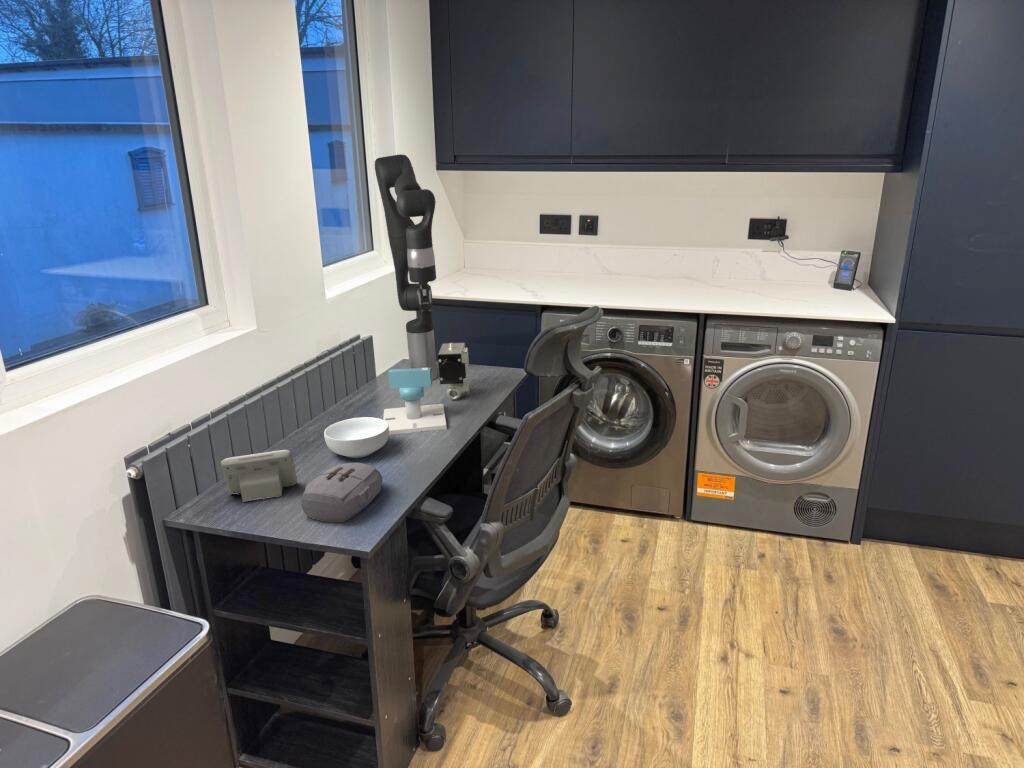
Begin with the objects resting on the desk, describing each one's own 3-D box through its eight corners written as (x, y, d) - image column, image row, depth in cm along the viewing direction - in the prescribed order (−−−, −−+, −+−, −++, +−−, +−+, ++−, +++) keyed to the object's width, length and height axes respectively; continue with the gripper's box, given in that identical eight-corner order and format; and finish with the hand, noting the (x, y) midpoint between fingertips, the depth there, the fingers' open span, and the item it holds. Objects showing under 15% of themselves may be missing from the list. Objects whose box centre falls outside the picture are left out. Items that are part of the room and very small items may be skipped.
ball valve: (468, 405, 221) (464, 350, 215) (440, 406, 221) (436, 351, 215) (472, 386, 238) (468, 335, 232) (447, 387, 238) (443, 336, 232)
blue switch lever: (389, 400, 205) (386, 373, 202) (393, 392, 212) (390, 366, 209) (431, 399, 205) (428, 371, 202) (433, 391, 212) (431, 364, 209)
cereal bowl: (401, 441, 197) (398, 417, 194) (374, 467, 182) (371, 442, 179) (345, 437, 201) (342, 414, 199) (315, 462, 186) (311, 437, 184)
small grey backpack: (352, 528, 154) (396, 486, 171) (347, 493, 151) (392, 454, 169) (293, 519, 158) (341, 479, 176) (287, 485, 156) (337, 448, 173)
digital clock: (301, 482, 176) (294, 442, 172) (292, 499, 167) (286, 458, 164) (234, 487, 175) (226, 447, 171) (222, 504, 166) (214, 463, 163)
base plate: (384, 412, 218) (381, 389, 216) (443, 407, 220) (441, 384, 218) (382, 435, 201) (380, 410, 199) (446, 429, 204) (444, 404, 201)
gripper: (408, 260, 205) (413, 315, 210) (408, 269, 192) (414, 327, 197) (434, 258, 206) (438, 313, 211) (436, 267, 193) (441, 325, 198)
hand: (426, 320), depth 204 cm, fingers open, 8 cm apart
